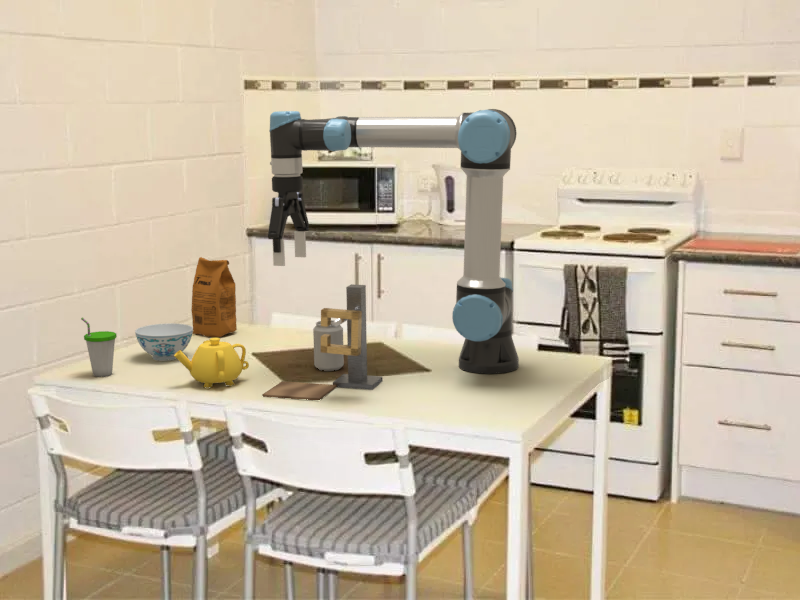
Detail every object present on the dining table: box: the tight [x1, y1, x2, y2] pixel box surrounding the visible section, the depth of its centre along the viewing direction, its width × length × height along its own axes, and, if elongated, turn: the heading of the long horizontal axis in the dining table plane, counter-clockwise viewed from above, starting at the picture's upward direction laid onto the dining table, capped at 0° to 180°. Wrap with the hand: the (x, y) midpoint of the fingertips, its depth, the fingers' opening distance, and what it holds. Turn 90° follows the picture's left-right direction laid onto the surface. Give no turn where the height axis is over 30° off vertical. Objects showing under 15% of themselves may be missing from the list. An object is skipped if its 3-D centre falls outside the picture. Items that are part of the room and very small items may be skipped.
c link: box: [320, 307, 362, 356], centre depth 265 cm, size 9×2×10 cm, turn 74°
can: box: [312, 319, 345, 372], centre depth 293 cm, size 8×8×12 cm
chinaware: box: [134, 322, 193, 362], centre depth 306 cm, size 15×15×8 cm
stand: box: [331, 283, 384, 391], centre depth 270 cm, size 10×20×24 cm, turn 164°
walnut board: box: [261, 380, 338, 401], centre depth 272 cm, size 14×12×1 cm
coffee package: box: [190, 256, 238, 338], centre depth 333 cm, size 10×12×22 cm
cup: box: [80, 317, 117, 378], centre depth 288 cm, size 8×8×15 cm
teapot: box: [174, 337, 250, 389], centre depth 280 cm, size 14×14×11 cm
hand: (290, 261), depth 286 cm, fingers open, 13 cm apart
